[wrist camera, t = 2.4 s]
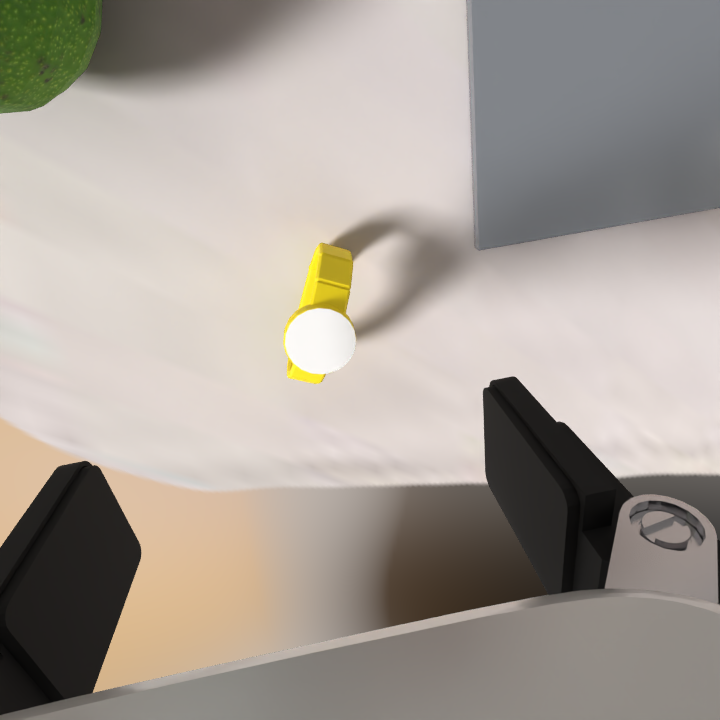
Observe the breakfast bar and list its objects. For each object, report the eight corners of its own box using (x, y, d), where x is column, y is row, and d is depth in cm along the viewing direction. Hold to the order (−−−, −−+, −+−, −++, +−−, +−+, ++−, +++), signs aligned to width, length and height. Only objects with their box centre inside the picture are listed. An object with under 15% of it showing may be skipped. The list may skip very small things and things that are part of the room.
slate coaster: (777, -126, 17) (792, -134, 17) (712, 205, 23) (722, 207, 22) (463, -76, 17) (469, -83, 16) (474, 247, 22) (479, 250, 22)
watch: (303, 230, 22) (305, 251, 16) (359, 246, 22) (380, 271, 17) (274, 346, 24) (267, 400, 18) (326, 358, 24) (335, 414, 19)
